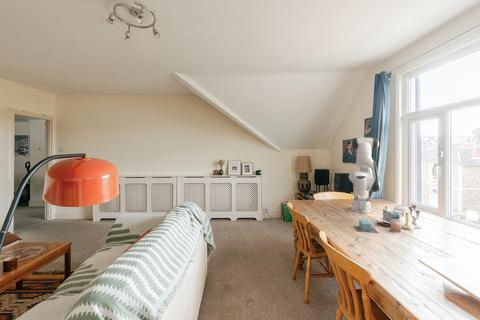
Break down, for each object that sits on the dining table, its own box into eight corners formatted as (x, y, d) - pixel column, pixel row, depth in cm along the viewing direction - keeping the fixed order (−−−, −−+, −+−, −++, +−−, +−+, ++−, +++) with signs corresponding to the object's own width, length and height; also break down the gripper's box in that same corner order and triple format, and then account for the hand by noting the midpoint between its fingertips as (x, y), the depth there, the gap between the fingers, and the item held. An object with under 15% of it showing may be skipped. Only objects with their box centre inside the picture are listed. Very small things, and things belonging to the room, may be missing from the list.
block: (359, 219, 167) (362, 223, 158) (367, 220, 165) (371, 224, 156) (359, 225, 167) (361, 230, 158) (367, 226, 165) (371, 231, 156)
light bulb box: (400, 226, 166) (400, 212, 165) (391, 226, 166) (391, 212, 166) (390, 221, 177) (390, 208, 176) (382, 221, 177) (382, 208, 176)
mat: (353, 225, 167) (353, 225, 167) (374, 227, 163) (374, 227, 163) (356, 231, 157) (356, 230, 157) (378, 233, 153) (378, 232, 153)
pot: (389, 229, 161) (389, 221, 160) (398, 229, 159) (398, 221, 158) (392, 231, 155) (392, 223, 155) (402, 232, 153) (402, 224, 153)
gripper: (353, 193, 186) (353, 208, 187) (358, 198, 167) (357, 215, 168) (362, 193, 184) (361, 209, 185) (367, 198, 165) (367, 216, 166)
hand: (359, 212), depth 176 cm, fingers open, 8 cm apart
